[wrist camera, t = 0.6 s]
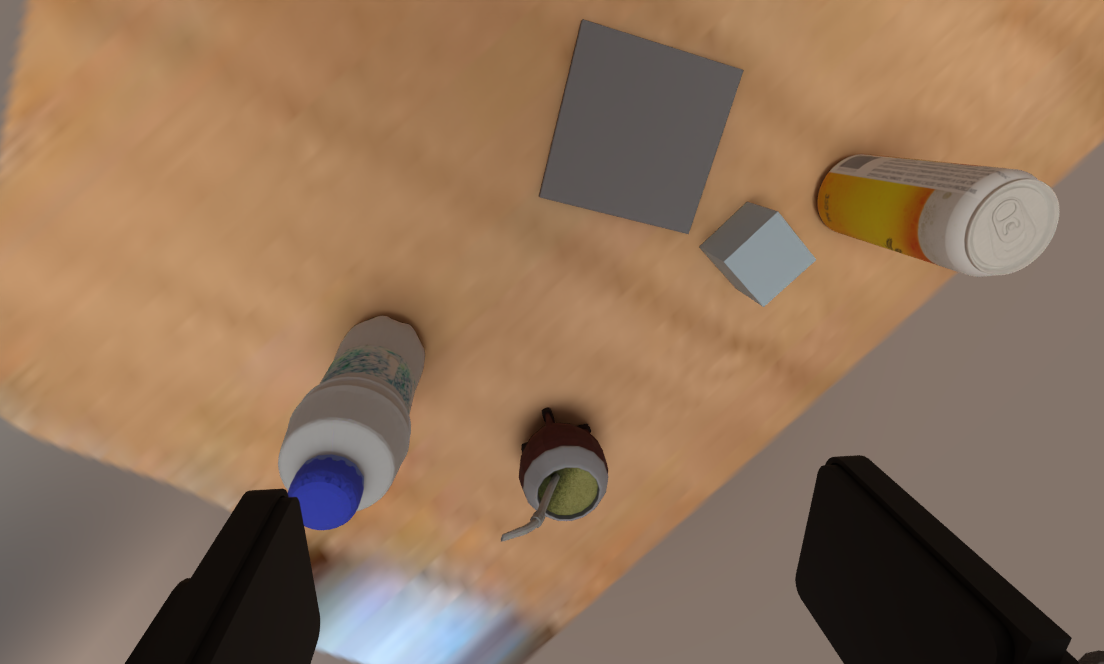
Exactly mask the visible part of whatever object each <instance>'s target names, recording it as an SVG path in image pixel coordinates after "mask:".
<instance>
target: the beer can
mask: <svg viewBox="0 0 1104 664" xmlns="http://www.w3.org/2000/svg"><path fill="white" fill-rule="evenodd" d="M818 211H819V215H820V217H821V219H822V221H823V222H824V224H825V225H826V226H827V227H829V228H830V229H831V230H833V231H835V232H838V233H841V234H844V235H847V236H850V237H853V238H856V239H859V240H863V241H866V242H869V243H872V244H875V245H878V246H881V247H884V248H887V249H890V250H893V251H896V252H899V253H902V254H905V255H908V256H911V257H914V258H918V259H921V260H924V261H927V262H930V263H933V264H936V265H939V266H942V267H945V268H948V269H951V270H954V271H957V272H960V273H963V274H967V275H970V276H975V277H985V276H991V275H1006V274H1010V273H1013V272H1016V271H1018V270H1021V269H1023V268H1024V267H1026V266H1027V265H1029V264H1030V263H1032V262H1033V261H1034V260H1035V259H1036V258H1037V257H1039V256H1040V255H1041V253H1042V252H1043V251H1044V250H1045V248H1046V247H1047V246H1048V244H1049V243H1050V241H1051V239H1052V237H1053V236H1054V233H1055V231H1056V228H1057V225H1058V220H1059V203H1058V199H1057V197H1056V195H1055V193H1054V191H1053V190H1052V189H1051V188H1050V187H1049V186H1048V185H1047V184H1045V183H1043V182H1042V181H1039V180H1038V179H1037V178H1036V177H1034V176H1033V175H1032V174H1030V173H1028V172H1025V171H1022V170H1016V169H1006V168H996V167H986V166H976V165H966V164H956V163H946V162H936V161H927V160H917V159H907V158H897V157H887V156H877V155H867V154H859V155H854V156H850V157H848V158H846V159H844V160H842V161H840V162H839V163H838V164H836V165H835V166H834V167H833V168H832V169H831V170H830V171H829V173H828V174H827V175H826V177H825V178H824V180H823V182H822V184H821V187H820V190H819V194H818Z"/></svg>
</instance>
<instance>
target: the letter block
mask: <svg viewBox="0 0 1104 664" xmlns="http://www.w3.org/2000/svg"><path fill="white" fill-rule="evenodd" d="M699 248H700V249H701V250H702V251H703V252H704V253H705V254H706V255H707V257H708V258H709V259H710V260H711V261H712V262H713V263H714V264H715V266H716V267H717V268H718V269H719V270H720V271H721V272H722V273H723V275H724V276H725V277H726V278H727V279H728V280H729V281H730V282H731V283H732V285H733V286H734V287H735V288H736V289H738V290H739V291H740V292H742V293H743V294H745V295H746V296H748V297H749V298H751V299H752V300H754V301H755V302H757V303H758V304H760V305H761V306H763V307H764V306H765V305H766V304H768V303H769V302H770V301H771V300H772V299H773V298H774V297H775V296H776V295H778V294H779V293H780V292H781V291H782V290H783V289H784V288H785V287H787V286H788V285H789V284H790V283H791V282H792V281H793V280H794V279H795V278H797V277H798V276H799V275H800V274H801V273H802V272H803V271H804V270H805V269H807V268H808V267H809V266H810V265H811V264H812V263H813V262H814V261H816V259H815V257H814V256H813V255H812V254H811V252H810V251H809V250H808V249H807V247H806V246H805V245H804V244H803V242H802V241H801V240H800V239H799V237H798V236H797V235H796V234H795V232H794V231H793V230H792V229H791V227H790V226H789V225H788V224H787V222H786V221H785V220H784V219H783V217H782V216H781V215H780V214H779V212H778V211H775V210H772V209H768V208H765V207H762V206H759V205H756V204H753V203H750V202H746V203H745V204H744V205H743V206H742V207H741V208H740V209H739V210H738V211H737V212H736V213H735V214H734V215H732V216H731V217H730V218H729V219H728V220H727V221H726V222H725V223H724V224H723V225H722V226H721V227H720V228H719V229H718V230H717V231H716V232H714V233H713V234H712V235H711V236H710V237H709V238H708V239H707V240H706V241H705V242H704V243H703V244H702V245H701V246H700V247H699Z"/></svg>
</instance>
